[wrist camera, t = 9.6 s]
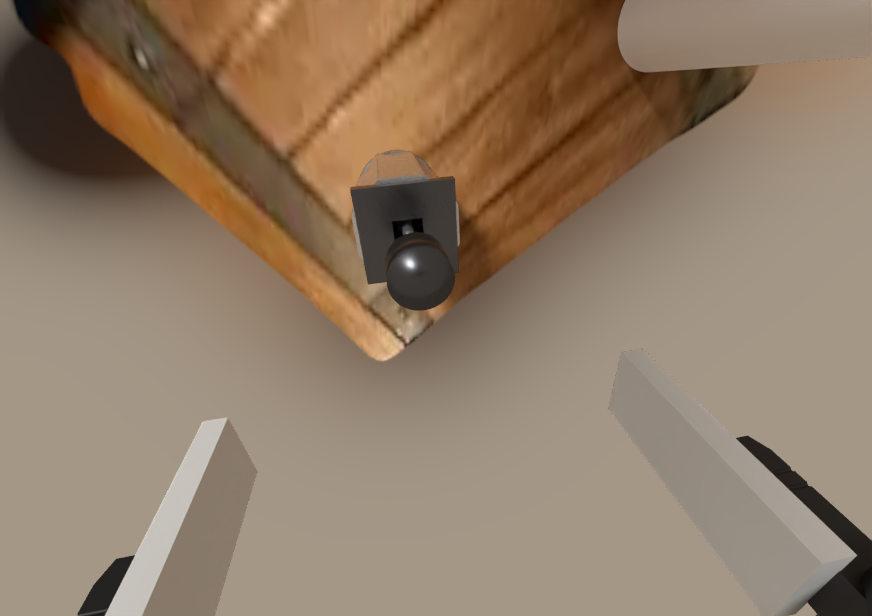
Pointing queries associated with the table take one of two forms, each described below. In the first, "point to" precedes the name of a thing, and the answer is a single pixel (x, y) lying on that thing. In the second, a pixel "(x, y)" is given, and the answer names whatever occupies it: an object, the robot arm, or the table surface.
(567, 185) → the table surface
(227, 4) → the table surface
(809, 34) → the cylinder container
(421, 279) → the plunger
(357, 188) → the press carafe
